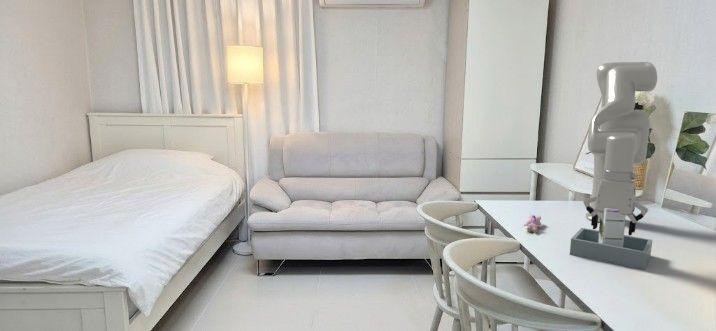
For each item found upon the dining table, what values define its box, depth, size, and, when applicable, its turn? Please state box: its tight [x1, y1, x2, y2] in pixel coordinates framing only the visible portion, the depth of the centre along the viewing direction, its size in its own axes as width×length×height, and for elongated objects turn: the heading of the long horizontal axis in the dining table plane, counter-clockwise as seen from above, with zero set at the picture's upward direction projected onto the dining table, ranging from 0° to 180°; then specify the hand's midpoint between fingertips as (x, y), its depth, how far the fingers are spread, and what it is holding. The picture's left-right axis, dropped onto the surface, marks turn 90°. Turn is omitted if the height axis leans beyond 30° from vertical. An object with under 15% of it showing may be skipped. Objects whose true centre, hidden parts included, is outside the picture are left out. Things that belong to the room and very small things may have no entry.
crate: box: [569, 227, 653, 271], centre depth 143 cm, size 14×20×5 cm
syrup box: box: [598, 207, 627, 247], centre depth 142 cm, size 6×6×14 cm
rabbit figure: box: [523, 214, 543, 234], centre depth 170 cm, size 6×6×15 cm
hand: (612, 231), depth 142 cm, fingers open, 9 cm apart
